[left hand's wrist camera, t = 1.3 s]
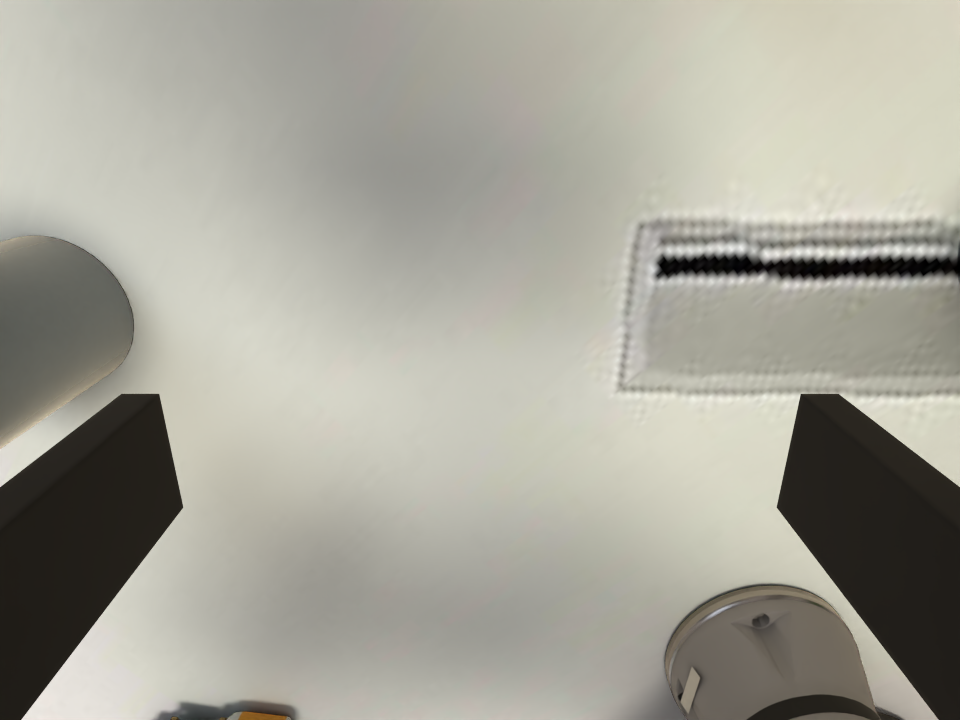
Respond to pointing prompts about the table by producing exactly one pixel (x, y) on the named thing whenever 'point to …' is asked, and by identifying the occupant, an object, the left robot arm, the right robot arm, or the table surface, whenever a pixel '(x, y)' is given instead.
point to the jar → (55, 328)
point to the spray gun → (250, 716)
